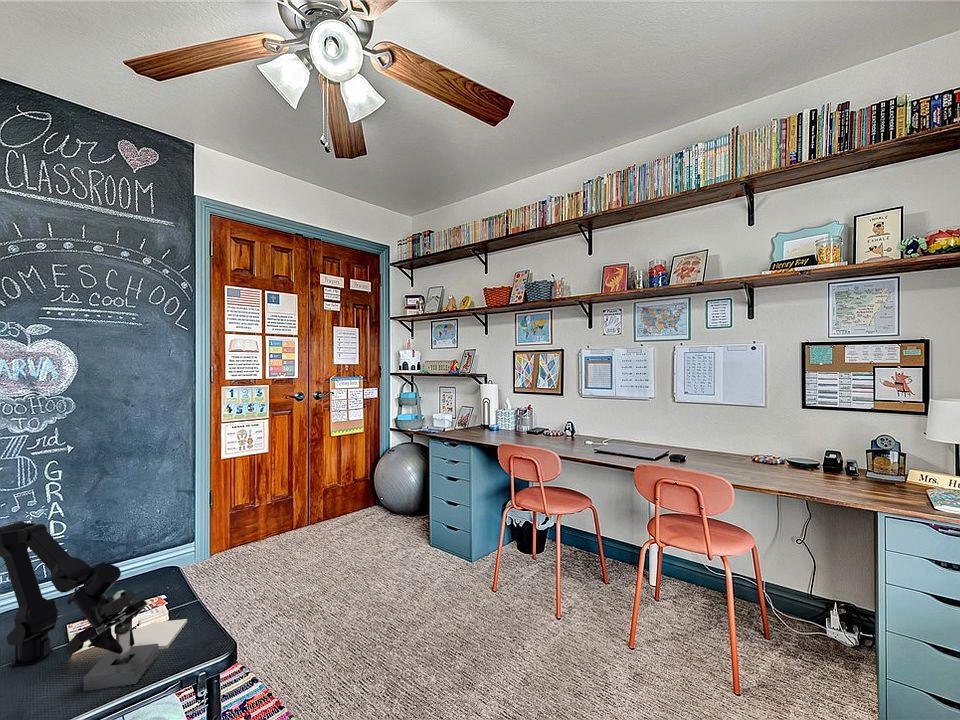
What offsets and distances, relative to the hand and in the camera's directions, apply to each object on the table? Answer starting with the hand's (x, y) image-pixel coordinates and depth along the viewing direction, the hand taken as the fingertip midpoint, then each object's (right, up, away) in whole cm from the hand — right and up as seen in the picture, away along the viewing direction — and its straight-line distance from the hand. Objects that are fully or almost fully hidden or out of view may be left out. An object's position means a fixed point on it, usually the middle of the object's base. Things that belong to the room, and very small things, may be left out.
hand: (127, 648), depth 125 cm
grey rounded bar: (-23, -7, +29) cm, 37 cm away
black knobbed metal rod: (-1, -7, 0) cm, 7 cm away
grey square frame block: (-1, -7, 0) cm, 7 cm away
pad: (-5, -7, +16) cm, 18 cm away
